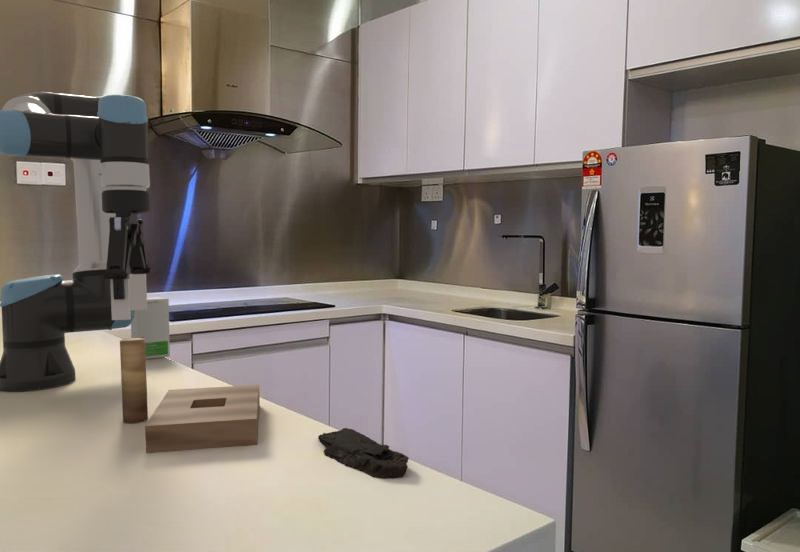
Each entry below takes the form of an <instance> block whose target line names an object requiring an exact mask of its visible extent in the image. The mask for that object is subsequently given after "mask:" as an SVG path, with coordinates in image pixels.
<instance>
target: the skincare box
mask: <svg viewBox="0 0 800 552" xmlns="http://www.w3.org/2000/svg"><path fill="white" fill-rule="evenodd" d="M169 301H170V300H169V298H168V297H161V296H160V297H147V310H136V311H135V315H134V319H133V321H132V323H131V324H130V333H131V334H130V336H131V337H130V339H131V338H143V339H145V353H146V360H148V359H150V360H151V359H155V358H156V359H158V358H166V357H167V358H168V357H170V356H171V353H170V351H171V350H170V349H171V347H170V345H171V344H170V309H169V308H170V307H169V306H170V303H169Z"/></svg>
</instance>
